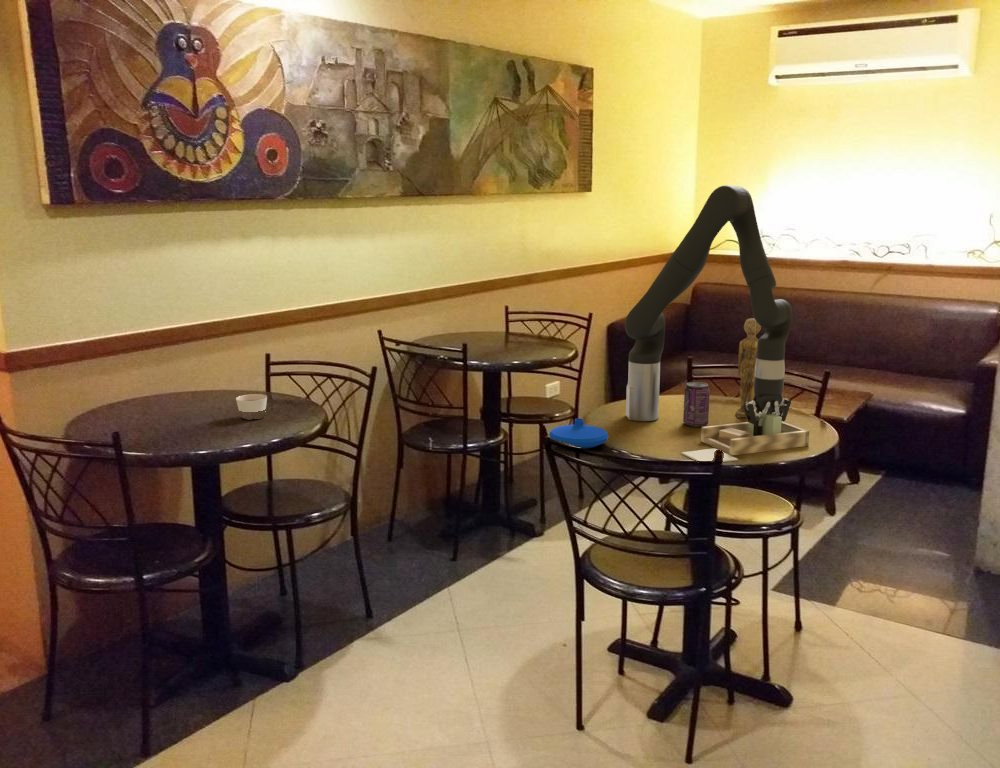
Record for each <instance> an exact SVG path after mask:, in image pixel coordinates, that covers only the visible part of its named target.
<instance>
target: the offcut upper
mask: <svg viewBox="0 0 1000 768" xmlns="http://www.w3.org/2000/svg"><path fill="white" fill-rule="evenodd" d="M743 437H751V433H748V432H745V431H741V430H737V429H733V428H728V429H723V430H719V438H720V439H723V440H727V441H730V439H735V438H743Z"/></svg>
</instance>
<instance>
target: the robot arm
mask: <svg viewBox="0 0 1000 768" xmlns="http://www.w3.org/2000/svg"><path fill="white" fill-rule="evenodd" d="M750 193H751V192H749V190H747V189H746V188H744V187H742V186H737V185H729V184H727V185H726V184H724V185H721V186H718V187H717V188H715V189H714V190H713V191H712V192H711V193H710V195H709V196H708V198H707V200H706V202H705V203H704V205H703V207H702V209H701V210H700V213H699V214H698V216H697V218H696V220H695V221H694V223H693V224H692V226H691V228H690V229H689V230H688V231H687V233H686V234H685V235H684V237H683V238H682V240H681V241H680V243H679V245H678V246H677V247H676V248H675V250H674V251H673V252H672V254H671V256H670V257H669V258H668V259H667V261H666V263H665V264H664V266H663V267H662V269H661V270H660V272H659V274H658V275H657V276H656V278H655V279H654V281H653V282H652V283H651V285H650V287H649V289H648V290H647V291H646V292H645V294H644V295H643V296H642V297H641V298H640V299H639V300H638V302H637V303H636V304H635V305H634V306H633V307H632V308H631V310H630V311H629V313H628V314H627V315H626V318H625V321H624V330H625V331H624V332H626V335H627V336H628V337H629V338H631V339H633V340H635V344H634V346H633V347H632V348H631V350H629V352H628V378H627V379H628V380H627V384H626V393H625V394H626V399H625V400H626V401H625V417H626V418H627V419H628V421H636V422H652V421H656V420H658V419H659V411H660V410H659V407H660V406H659V405H660V384H661V383H660V380H661V358H662V354H663V351H664V347H665V335H666V319H665V315H664V313H663V312H664V311H665V310H666V308H667V307H668V306H669V305H670V304H671V303H672V302H674V300H676V299H677V298H678V297H680V296H681V295H682V294H683V293H684V292H686V290H687V289H688V288H689V287H690V286H691V285H692V284H693V283H694V281H695V280H696V279H697V278H698V277H699V275H700V273H702V271H703V269H704V267H705V266H706V263H707V261H708V258H709V255H710V251H711V246H712V244H713V242H714V240H715V238H717V237H716V236H717V235H718V234H719V233H720V231H721V230H722V229H723V228H724V227H725V226H726V224H728V222H729V223H730V224H731V226H732V228H733V231H734V232H735V235H736V237H737V242H738V248H739V263H740V268H741V270H742V271H741V273H742V275H743V277H744V281H745V282H746V285H747V288H748V289H749V290H748V291H749V299H750V306H751V313H752V315H753V318H755V320H756V322H757V323H758V324H759V325H760V326H761V328H764V329H765V330H764V331H765V332H764V333H763V335H761V336H760V337H759V338H758V339H759V340H758V344H757V359H756V364H755V376H754V393H755V394H754V397H753V401H751V402H749V403H748V402H745V403H744V408H745V413H746V417H747V418H746V417H745V418H746V422H749V423H751V424H753V425H754V429H753V436H760V435H762V426H761V425H762V423H763V420H764V418H765V417H766V414H767V413H772V414H775V415H777V416H780V417H782V421H783V422H786V419H787V416H788V413H789V410H790V407H791V403H792V401H791V399H788V398H784V397H783V396H782V395H783V393H784V386H785V385H784V384H785V383H784V382H785V372H786V371H785V369H786V368H785V367H786V365H785V355H786V342H787V338H788V337H789V334H790V328H791V326H792V322H793V309H792V306H791V304H790V303H789V302H788V301H787V300H785V299H781V298H776V299H775V297H774V295H773V294H774V293H773V290H774V289H775V288H776V287H777V280H776V277H775V276H774V273H773V269H772V267H771V264H770V261H769V259H768V257H767V254H766V251H765V249H764V246H763V242H762V238H761V234H760V229H759V226H758V221H757V217H756V211H755V207H754V202H753V199H752V196H751V194H750ZM754 410H755V412H754ZM760 412H761V414H760ZM758 419H759V420H758Z"/></svg>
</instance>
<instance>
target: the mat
mask: <svg viewBox="0 0 1000 768" xmlns="http://www.w3.org/2000/svg"><path fill="white" fill-rule="evenodd" d="M716 450H718V449H717V448H715V447H713V448H707V449H706V448H705V449H698V450H690V451H682V452H681V455H683V456H685V457H687V458H689V459H692V460H693V461H695V460H696V461H695V462H697V461H712V460H713V458H714V452H715V451H716ZM722 452H723V451H722ZM723 453H724V458H723V462H722V463H729V462H735V461H739V458H738V457H734V455H730V454H728V453H726V452H723Z"/></svg>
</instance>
